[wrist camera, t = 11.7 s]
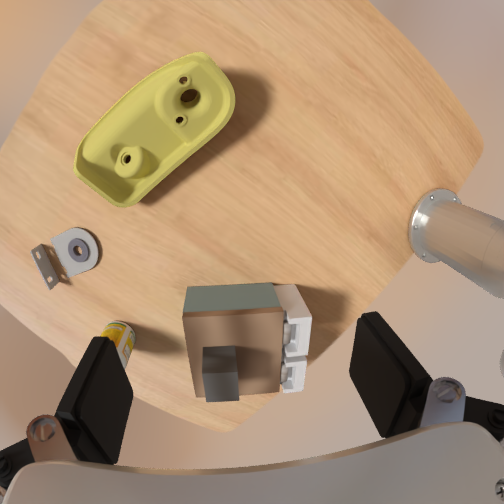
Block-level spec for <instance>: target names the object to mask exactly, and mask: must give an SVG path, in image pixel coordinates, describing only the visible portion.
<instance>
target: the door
mask: <svg viewBox="0 0 504 504" xmlns="http://www.w3.org/2000/svg"><path fill="white" fill-rule="evenodd" d="M283 318H284V311H283V308H282V307H271V308H257V309H241V310H223V311H202V312H183V316H182V319H183V326H184V332H185V339H186V345H187V351H188V357H189V362H190V368H191V373H192V379H193V384H194V389H195V394H196V397H206V402H223V401H239V396H240V395H253V394H264V393H273V392H279V388H280V381H281V382H286V381H287V379H288V367H286V366H285V362H284V361H283V362H281V356H282V343H283V344H289V343H290V341H291V326H292V324H289V323H288V320H283Z"/></svg>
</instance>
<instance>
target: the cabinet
mask: <svg viewBox="0 0 504 504" xmlns="http://www.w3.org/2000/svg"><path fill="white" fill-rule="evenodd" d="M271 307H282V308H283V311H284V318H283V320H288V323H289V324H292V326H291V341H290V343H289V344H283V343H282V356H281V362H283V361H284V362H285V366H286V367H288V379H287V381H286V382H281V381H280V384H282V388H283V392H284V393H291V392H298V391H303V387H304V380H305V373H306V365H307V359H306V357H305V355H308V349H309V340H310V332H311V322H312V316H311V314H310V312H309V310H308V308H307V306H306V304H305V302H304V300H303V299H302V297H301V295H300V293H299V291H298V289H297V287H296V285H295V284H289V285H274V286H273V284H272V283H256V284H238V285H218V286H196V287H187V292H186V297H185V303H184V308H183V312H202V311H223V310H241V309H257V308H271Z"/></svg>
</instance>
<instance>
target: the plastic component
mask: <svg viewBox="0 0 504 504" xmlns="http://www.w3.org/2000/svg"><path fill="white" fill-rule="evenodd" d="M181 77H187V82H186V81H183V84H182V83H180V82H179V79H180V78H181ZM188 89H195V90H197V96H196V98H195V99H194V100H192V101H190V102H183V101H181V100H180V97H181V95H182V93H183V92H185V91H186V90H188ZM234 107H235V92H234V89H233V86H232V84H231V83H230V81H229V79H228V78H227V77H226V75H225V74H224V73H223V72H222V71H221V69H220V68H219V67H218V66H217V65H216V64H215V62H214V61H213V60H212V59H211V58H210V57H209V56H208V55H207V54H205V53H203V52H195V53H192V54H188V55H185V56H183V57H180V58H178V59H176V60H174V61H172V62H170V63H168V64H166V65H164V66H162V67H161V68H159V69H157V70H156V71H154V72H153V73H151V74H149V75H148V76H147V77H145V78H144V79H143V80H141V81H140V82H139V83H137V84H136V85H135V86H134V87H132V88H131V89H130V90H129V91H128V92H127V93H126V94H124V95H123V96H122V97H121V98H120V99H119V100H118V101H117V102H116V103H115V104H114V105H113V106H112V107H111V108H110V109H109V110H108V111H107V112H106V113H105V114H104V115H103V116H102V117H101V118H100V119H99V120H98V121H97V123H96V124H95V125H94V126H93V127H92V128H91V129H90V130H89V131H88V132H87V134H86V135H85V136H84V138H83V139H82V140H81V142H80V144H79V146H78V148H77V150H76V154H75V160H74V167H73V171H74V173H75V175H76V176H77V177H78V178H79V179H80V180H82V181H83V182H84V183H85V184H87V185H88V186H89V187H90V188H92V189H93V190H94V191H96V192H97V193H98V194H99V195H101V196H102V197H103V198H105V199H106V200H107V201H109V202H110V203H111V204H113V205H115V206H117V207H130V206H133V205H135V204H136V203H138V202H139V201H140V200H141V199H142V198H143V197H144V196H145V195H146V194H147V193H148V192H149V191H151V190H152V189H153V188H154V187H155V186H156V185H157V184H158V183H159V182H161V181H162V180H163V179H164V178H165V177H166V176H167V175H169V174H170V173H171V172H172V171H173V170H174V169H176V168H177V167H178V166H179V165H180V164H181V163H183V162H184V161H185V160H186V159H187V158H189V157H190V156H191V155H192V154H193V153H195V152H196V151H197V150H198V149H200V148H201V147H202V146H203V145H204V144H206V143H207V142H208V141H209V140H210V139H212V138H213V137H214V136H215V135H216V134H217V133H218V132H219V131H220V130H221V129H222V128H223V127H224V126H225V125H226V124H227V122H228V121H229V119H230V118H231V116H232V113H233V111H234ZM178 117H183V121H182V122H180V123H177V122H176V118H178ZM129 155H130V156H131V160H130V162H129V163H128V164H127V163H126V158H127V156H129Z"/></svg>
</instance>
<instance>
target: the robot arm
mask: <svg viewBox="0 0 504 504" xmlns="http://www.w3.org/2000/svg"><path fill="white" fill-rule="evenodd" d="M409 242H410V245H411V248H412V250H413V252H414V253H415V254H416V255H417V257H419V258H420V259H422V260H423V261H426V262H429V263H435V262H439V261H442V262H444V263H445V264H447V265H449V266H450V267H452V268H453V269H455V270H456V271H458V272H459V273H461V274H462V275H464V276H465V277H467V278H468V279H470V280H472V281H473V282H474V283H476V284H477V285H479V286H480V287H482V288H483V289H484V290H486V291H487V292H489V293H490V294H492V295H493V296H495V297H498V298H503V299H504V221H503V220H501V219H498V218H496V217H494V216H491V215H489V214H486V213H483V212H481V211H478V210H475V209H473V208H470V207H467V206H465V205H462V204H461V202H460V200H459V198H458V197H457V195H456V194H455V193H453V192H452V191H450V190H447V189H443V188H437V189H433V190H431V191H429V192H427V193H426V194H425V195H423V196H422V198H421V199H420V200H419V201H418V203H417V204H416V206H415V208H414V210H413V212H412V215H411V218H410V222H409ZM500 370H501V373H502V375H503V377H504V350H503V352H502V355H501V359H500ZM349 373H350V377H351V379H352V381H353V383H354V385H355V387H356V389H357V391H358V393H359V395H360V397H361V399H362V400H363V403H364V404H365V406H366V408H367V410H368V412H369V414H370V416H371V418H372V420H373V422H374V424H375V426H376V428H377V430H378V432H379V434H380V436H381V437H382V438H384V437H385V438H386V439H383V440H380V441H376V442H374V443H370V444H366V445H362V446H359V447H355V448H351V449H347V450H343V451H339V452H335V453H331V454H326V455H322V456H317V457H311V458H307V459H301V460H296V461H289V462H283V463H276V464H268V465H259V466H250V467H238V468H222V469H155V468H140V467H128V466H117V465H114V464H116V463H117V461H118V458H119V454H120V449H121V445H122V440H123V436H124V432H125V427H126V423H127V419H128V415H129V411H130V407H131V404H132V400H133V390H132V387H131V385H130V382H129V380H128V377H127V375H126V372H125V370H124V367H123V365H122V362H121V359H120V357H119V354H118V351H117V349H116V346H115V343H114V341H113V340H110V339H109V337H93V339H92V340H91V342H90V344H89V346H88V348H87V350H86V352H85V353H84V355H83V357H82V359H81V361H80V363H79V365H78V367H77V369H76V371H75V373H74V375H73V377H72V379H71V381H70V383H69V385H68V387H67V389H66V391H65V393H64V395H63V397H62V399H61V401H60V403H59V406H58V408H57V410H56V413H55V415H54V416H52V415H48V414H47V415H40V416H37V417H36V418H34V419H33V420H32V421H31V422H30V423H29V425H28V426H27V431H26V434H27V438H26V439H24V440H22V441H20V442H18V443H16V444H14V445H12V446H9V447H7V448H5V449H3V450H1V451H0V504H504V405H502V404H498V403H493V402H489V401H485V400H480V399H476V398H472V397H468V396H466V393H465V389H464V387H463V385H462V384H461V383H460V382H459V381H457V380H455V379H452V378H449V377H441V378H438V379H436V380H434V381H433V380H432V378H431V377H430V375H429V374H428V373H427V372H426V370H425V369H424V368H423V367H422V365H421V364H420V363H419V362H418V360H417V359H416V358H415V357H414V355H413V354H412V353H411V352H410V350H409V349H408V348H407V347H406V345H405V344H404V343H403V342H402V340H401V339H400V338H399V337H398V336H397V334H396V333H395V332H394V331H393V330H392V328H391V327H390V326H389V325H388V324H387V323H386V321H385V320H384V319H383V318H382V317H381V315H380V314H379V313H378V312H376V311H375V312H369V313H363V314H362V316H361V318H358V320H357V326H356V332H355V339H354V346H353V351H352V357H351V362H350V368H349Z"/></svg>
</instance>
